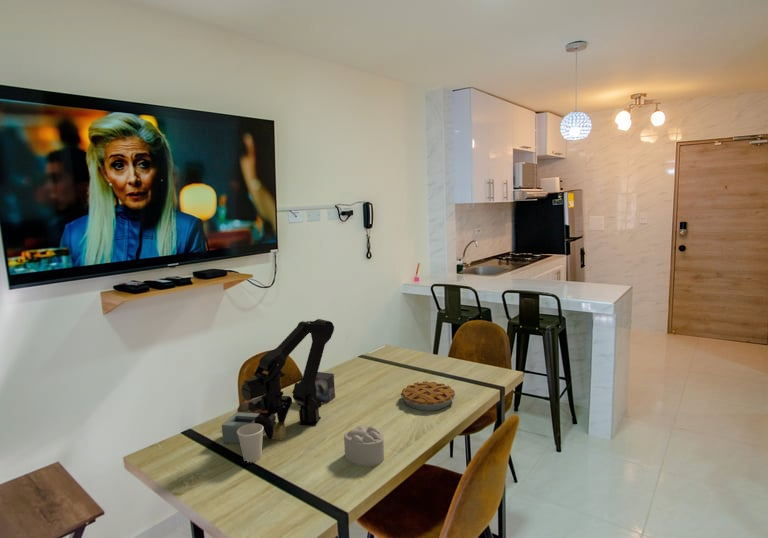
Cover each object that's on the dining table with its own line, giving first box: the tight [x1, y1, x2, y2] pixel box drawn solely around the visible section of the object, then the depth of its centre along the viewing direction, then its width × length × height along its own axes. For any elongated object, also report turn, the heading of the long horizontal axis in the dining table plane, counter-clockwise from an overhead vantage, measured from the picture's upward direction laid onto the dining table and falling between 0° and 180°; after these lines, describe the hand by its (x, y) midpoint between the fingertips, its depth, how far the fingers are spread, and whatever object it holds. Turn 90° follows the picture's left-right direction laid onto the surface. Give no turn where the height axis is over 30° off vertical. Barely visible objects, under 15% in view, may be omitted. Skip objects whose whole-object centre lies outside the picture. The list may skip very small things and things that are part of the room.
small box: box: [315, 371, 336, 403], centre depth 199 cm, size 11×6×10 cm, turn 68°
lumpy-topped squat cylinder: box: [343, 425, 385, 467], centre depth 153 cm, size 10×13×9 cm
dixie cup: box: [237, 423, 264, 463], centre depth 154 cm, size 8×8×10 cm
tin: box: [236, 395, 268, 414], centre depth 183 cm, size 15×3×8 cm, turn 134°
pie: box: [400, 381, 456, 412], centre depth 193 cm, size 22×22×5 cm
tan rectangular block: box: [265, 421, 287, 441], centre depth 168 cm, size 6×3×5 cm, turn 78°
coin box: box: [221, 411, 266, 446], centre depth 168 cm, size 11×10×7 cm
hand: (275, 432), depth 168 cm, fingers open, 9 cm apart
